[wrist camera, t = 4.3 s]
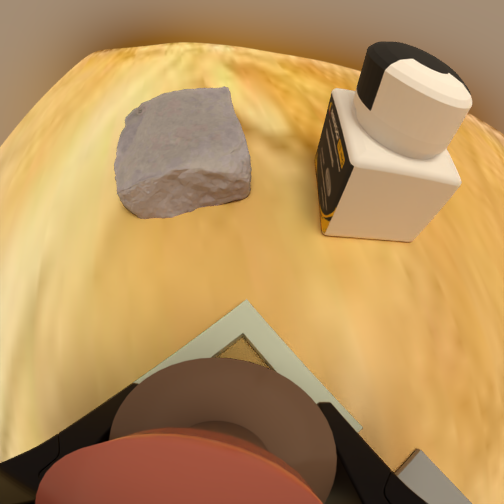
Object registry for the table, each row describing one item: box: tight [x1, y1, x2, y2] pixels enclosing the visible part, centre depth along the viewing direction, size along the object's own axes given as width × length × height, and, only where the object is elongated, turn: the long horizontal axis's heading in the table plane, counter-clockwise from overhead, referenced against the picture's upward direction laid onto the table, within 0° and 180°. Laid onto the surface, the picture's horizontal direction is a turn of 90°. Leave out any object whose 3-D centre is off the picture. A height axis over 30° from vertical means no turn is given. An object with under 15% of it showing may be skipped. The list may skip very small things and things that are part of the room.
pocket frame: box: [108, 299, 363, 433], centre depth 13 cm, size 10×10×1 cm
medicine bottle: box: [315, 42, 472, 242], centre depth 15 cm, size 7×7×12 cm
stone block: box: [114, 87, 251, 219], centre depth 21 cm, size 12×5×10 cm
